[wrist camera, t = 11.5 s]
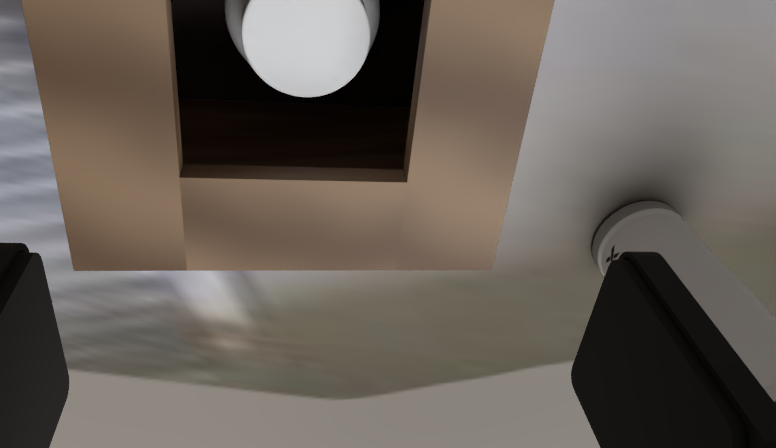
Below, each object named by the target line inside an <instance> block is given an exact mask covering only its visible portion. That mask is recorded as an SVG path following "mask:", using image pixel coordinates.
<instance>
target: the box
mask: <svg viewBox="0 0 776 448" xmlns="http://www.w3.org/2000/svg"><path fill="white" fill-rule="evenodd" d="M21 1H22V6H23V11H24V16H25V22H26V27H27V32H28V37H29V42H30V47H31V53H32V58H33V63H34V68H35V73H36V78H37V83H38V89H39V94H40V99H41V104H42V109H43V114H44V119H45V125H46V130H47V135H48V140H49V145H50V150H51V155H52V161H53V166H54V171H55V176H56V181H57V186H58V191H59V197H60V202H61V207H62V212H63V217H64V222H65V227H66V233H67V238H68V243H69V248H70V253H71V258H72V263H73V269H74V271H151V270H492V268H493V263H494V259H495V255H496V251H497V246H498V242H499V238H500V233H501V229H502V225H503V220H504V216H505V212H506V207H507V203H508V199H509V194H510V190H511V186H512V181H513V177H514V173H515V169H516V164H517V160H518V156H519V151H520V147H521V143H522V138H523V134H524V130H525V125H526V121H527V117H528V112H529V108H530V104H531V100H532V95H533V91H534V87H535V82H536V78H537V74H538V69H539V65H540V61H541V56H542V52H543V48H544V43H545V39H546V35H547V30H548V26H549V22H550V18H551V13H552V9H553V5H554V0H425V1H424V9H423V17H422V24H421V32H420V40H419V48H418V56H417V64H416V71H415V79H414V87H413V95H412V103H411V108H403V107H379V106H354V105H329V104H305V103H280V102H256V101H231V100H207V99H182V98H178V90H177V77H176V64H175V50H174V37H173V24H172V10H171V0H21Z"/></svg>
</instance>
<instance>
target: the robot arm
mask: <svg viewBox="0 0 776 448" xmlns="http://www.w3.org/2000/svg"><path fill="white" fill-rule="evenodd" d="M571 379H572V385H573V388H574V390H575V393H576V395H577V397H578V399H579V401H580V404H581V406H582V408H583V410H584V412H585V415H586V416H587V419H588V421H589V423H590V425H591V428H592V430H593V432H594V434H595V436H596V439H597V441H598V443H599V445H600V447H601V448H776V404H775V402H774V401H773V400H772V399H771V397H770V396H769V395H768V393H767V392H766V391H765V389H764V388H763V387H762V385H761V384H760V383H759V382H758V380H757V379H756V378H755V376H754V375H753V374H752V372H751V371H750V370H749V368H748V367H747V366H746V365H745V363H744V362H743V361H742V359H741V358H740V357H739V355H738V354H737V353H736V352H735V350H734V349H733V348H732V346H731V345H730V344H729V342H728V341H727V340H726V338H725V337H724V336H723V335H722V333H721V332H720V331H719V329H718V328H717V327H716V325H715V324H714V323H713V321H712V320H711V319H710V318H709V316H708V315H707V314H706V312H705V311H704V310H703V308H702V307H701V306H700V305H699V303H698V302H697V301H696V299H695V298H694V297H693V295H692V294H691V293H690V291H689V290H688V289H687V288H686V286H685V285H684V284H683V282H682V281H681V280H680V278H679V277H678V276H677V275H676V273H675V272H674V271H673V269H672V268H671V267H670V265H669V264H668V263H667V261H666V260H665V259H664V258H663V256H662V255H661V254H659V253H657V252H634V251H626V252H623V253H622V254H621V255H620V256H619V258H618V259H615V260H613V261H612V262H611V263H610V264H609V266H608V269H607V272H606V275H605V277H604V280H603V283H602V286H601V288H600V291H599V294H598V297H597V300H596V302H595V305H594V308H593V311H592V314H591V316H590V319H589V322H588V325H587V327H586V330H585V333H584V336H583V339H582V341H581V344H580V347H579V350H578V352H577V355H576V358H575V361H574V364H573V366H572V371H571ZM68 390H69V375H68V370H67V366H66V361H65V357H64V353H63V348H62V344H61V340H60V335H59V331H58V327H57V323H56V318H55V314H54V310H53V305H52V301H51V297H50V292H49V288H48V284H47V279H46V275H45V271H44V266H43V262H42V259H41V256H40V255H39V254H38V253H29V250H28V248H27V246H26V245H25V244H23V243H0V448H49V446H50V443H51V441H52V438H53V435H54V432H55V430H56V427H57V424H58V421H59V419H60V416H61V413H62V410H63V407H64V405H65V402H66V399H67V395H68Z"/></svg>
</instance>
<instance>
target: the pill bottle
mask: <svg viewBox="0 0 776 448" xmlns="http://www.w3.org/2000/svg"><path fill="white" fill-rule="evenodd" d="M225 17H226V23H227V27H228V30H229V33H230V36H231V38H232V40H233V42H234V44H235V46H236V47H237V49H238V51H239V52H240V53H241V55H242V56H243V57H244V59H245V60H246V61H247V62H248V63H249V64H250V65H251V67H252V68H253V70H254V71H255V72H256V74H257V75H258V76H259V77H260V78H261V79H262V80H263V81H265V82H266V83H267V84H268V85H270V86H271V87H273V88H274V89H276V90H278V91H280V92H283V93H285V94H289V95H292V96H298V97H317V96H323V95H326V94H329V93H332V92H334V91H336V90H338V89H340V88H341V87H343V86H344V85H346V84H347V83H348V82H349V81H350V80H352V79H353V77H354V76H355V75H356V74H357V73H358V71H359V70H360V68H361V67H362V65H363V63H364V61H365V59H366V56H367V54H368V52H369V50H370V48H371V46H372V45H373V42H374V40H375V37H376V34H377V31H378V26H379V20H380V2H379V0H225Z"/></svg>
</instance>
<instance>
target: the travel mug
mask: <svg viewBox="0 0 776 448" xmlns="http://www.w3.org/2000/svg"><path fill="white" fill-rule="evenodd" d="M626 251H634V252H657V253H659V254H661V255H662V256H663V258H664V259H665V260H666V261H667V263H668V264H669V265H670V267H671V268H672V269H673V271H674V272H675V273H676V275H677V276H678V277H679V278H680V280H681V281H682V282H683V284H684V285H685V286H686V288H687V289H688V290H689V291H690V293H691V294H692V295H693V297H694V298H695V299H696V301H697V302H698V303H699V305H700V306H701V307H702V308H703V310H704V311H705V312H706V314H707V315H708V316H709V318H710V319H711V320H712V321H713V323H714V324H715V325H716V327H717V328H718V329H719V331H720V332H721V333H722V335H723V336H724V337H725V338H726V340H727V341H728V342H729V344H730V345H731V346H732V348H733V349H734V350H735V352H736V353H737V354H738V355H739V357H740V358H741V359H742V361H743V362H744V363H745V365H746V366H747V367H748V368H749V370H750V371H751V372H752V374H753V375H754V376H755V378H756V379H757V380H758V382H759V383H760V384H761V385H762V387H763V388H764V389H765V391H766V392H767V393H768V395H769V396H770V397H771V399H772V400H773V401H774V402H775V404H776V319H775V318H774V317H773V316H772V314H771V313H770V312H769V311H768V310H767V309H766V308H765V307H764V306H763V305H762V304H761V303H760V302H759V300H758V299H757V298H756V297H755V296H754V295H753V294H752V293H751V292H750V291H749V290H748V289H747V288H746V286H745V285H744V284H743V283H742V282H741V281H740V280H739V279H738V278H737V277H736V276H735V275H734V274H733V272H732V271H731V270H730V269H729V268H728V267H727V266H726V265H725V264H724V263H723V262H722V261H721V260H720V258H719V257H718V256H717V255H716V254H715V253H714V252H713V251H712V250H711V249H710V248H709V247H708V246H707V244H706V243H705V242H704V241H703V240H702V239H701V238H700V237H699V236H698V235H697V234H696V233H695V232H694V230H693V229H692V228H691V227H690V226H689V225H688V224H687V223H686V222H685V221H684V220H683V219H682V218H681V216H680V215H679V214H678V213H677V212H676V211H675V210H674V209H673V208H672V207H671V206H669V205H667V204H665V203H662V202H658V201H641V202H636V203H633V204H629V205H627V206H625V207H623V208H621V209H619V210H618V211H616V212H615V213H613V214H612V215H611V216H610V217H609V218H607V219H606V220H605V222H604V223H603V224H602V225H601V226H600V228H599V230H598V231H597V233H596V235H595V238H594V241H593V246H592V253H593V258H594V261H595V263H596V264H597V266H598V267H599V269H600V270H601V272H602V273H603V275H604V276H605V275H606V272H607V269H608V266H609V264H610V263H611V262H612V261H613V260H615V259H618V258H619V256H620V255H621V254H622V253H623V252H626Z"/></svg>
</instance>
